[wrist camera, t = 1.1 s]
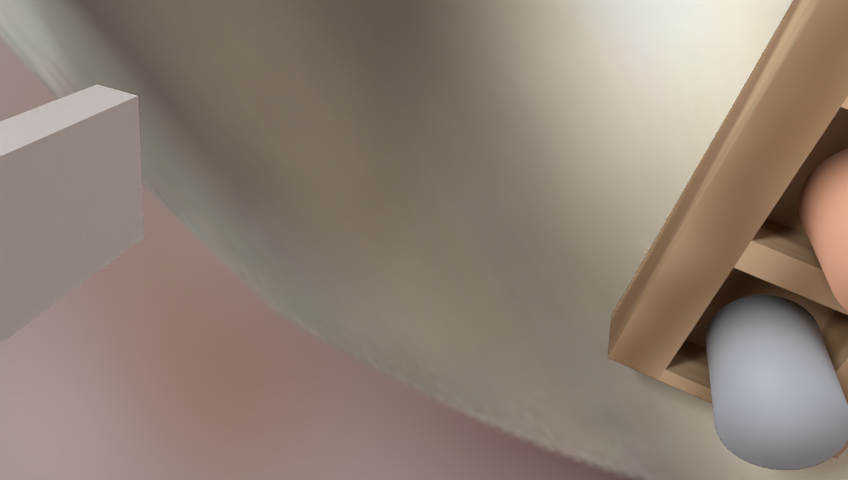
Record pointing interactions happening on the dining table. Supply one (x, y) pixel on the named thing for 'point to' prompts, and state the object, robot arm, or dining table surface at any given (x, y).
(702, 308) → the wooden peg tray
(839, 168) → the peach cylinder
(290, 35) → the dining table surface
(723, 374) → the blue-grey cylinder
